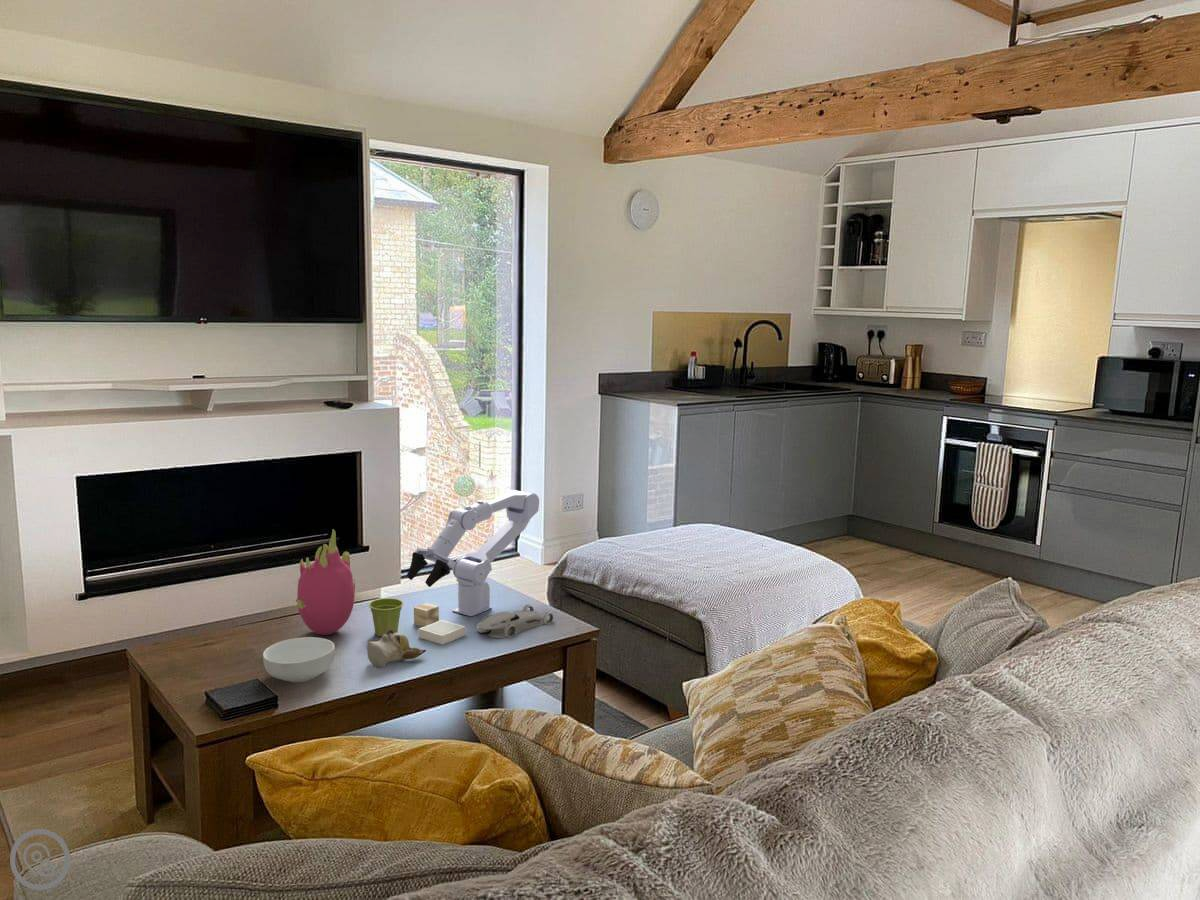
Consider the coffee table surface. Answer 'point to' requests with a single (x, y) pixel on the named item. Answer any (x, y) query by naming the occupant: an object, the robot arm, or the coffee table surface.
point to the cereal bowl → (299, 658)
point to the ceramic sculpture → (391, 649)
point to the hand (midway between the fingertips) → (418, 581)
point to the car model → (512, 622)
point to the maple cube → (426, 614)
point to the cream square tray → (441, 632)
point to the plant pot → (386, 614)
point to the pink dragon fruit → (326, 590)
